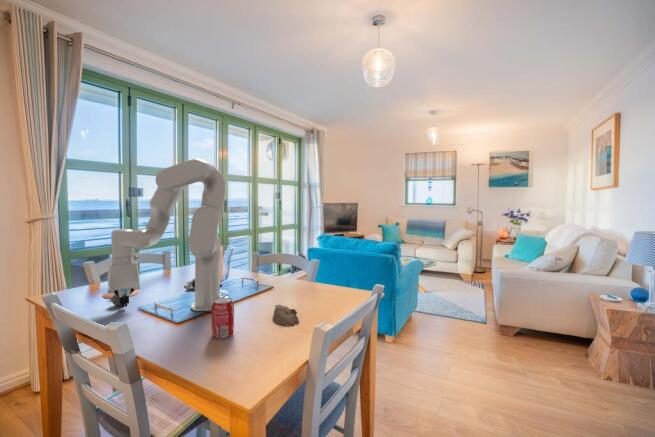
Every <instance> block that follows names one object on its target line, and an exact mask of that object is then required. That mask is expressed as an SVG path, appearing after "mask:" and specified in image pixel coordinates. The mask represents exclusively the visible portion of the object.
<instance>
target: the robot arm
mask: <svg viewBox="0 0 655 437" xmlns="http://www.w3.org/2000/svg"><path fill="white" fill-rule="evenodd" d="M198 182H199V183H202V184H203V191H202V195H201V203H200V206H199V207H198V208H197V209H195V211H194V212H193V214H192V217H191V225H190V231H189V240H188V249H189V250H188V251H189V252H190V253H191V255H192V256H193V257H194V278H195V291H194V302H193V303H191V304H190V309H191V310H192V311H195V312H198V311H207V312H212V305H213V303H214V300H215V299H217V298H221V297H224V296H222V293H220V292H221V291H220V290H221V288H220V287H221V286H220V282H221V281H220V278H221V277H220V276H221V274H220V272H221V270H220V269H221V264H220V263H221V245H222V244H221V243H222V242H221V238H220V236H219V235H218V227H219V226H220V224H221V223H222V221H223V215H224V214H223V213H224V212H223V211H224V204H225V194H226V181H225V177H224V176H223V173H222V172H221V171H220V169H218V168H217V167H216V166H215V165H213V164H212V163H210V162H209V161H208V162H207V160H204V159H200V158H193V159H189V160H186V161H183V162H180V163H177V164H174V165H171V166H167V167H165V168H163V169H161V170H159V171H158V172H157V173H156V175H155V185H156V186H157V187H156V190H155V192H154V193H153V195H152V197H151V198H150V201H149V207H150V210H151V214H150V216H149V217H150V218H149V220H148V222H147V224H146V225H145V227H144V228H141V229H136V230H133V229H131V228H130V229H129V228H119V229H115V230H112V231H111V235H110V236H111V237H110V238H111V263H110V264H109V265H108V266H109V267H108V272H107V274H108V276H107V278H108V279H107V286H108V289H107V292H108V293H110V294H116V295H118V296H119V297H120V305H121V304H122V305H121V306H122V308H124V307H128V304H130V297H131V296H130V294H131V293H132V292H133V291H136V290H140V289H141V286H140V273H139V265H138V263H137V261H138V260H140V256H139V255H136V254H135V250H138V249H139V250H142V249H147V248H149V247H152V246H155V245H156V244H158V243H159V242H160V240H161V239H162V237H163V235H164V234H165V232H166V231H167V230H166V229H167V227H168V225H169V223H170V219H171V216H172V212H173V210H174V208H175V207H176V204H177V202H178V200H179V198H180V197H181V195H182V193H183V191H184V189H185V187H187V186H189V185H192V184H196V183H198ZM122 289H126V293H125V295H123V294H122ZM129 296H130V297H129ZM124 302H125V304H124Z"/></svg>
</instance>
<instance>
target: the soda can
mask: <svg viewBox="0 0 655 437" xmlns="http://www.w3.org/2000/svg"><path fill="white" fill-rule="evenodd" d="M234 330H235V304H234V302H233V298H232V297H229V296H223V297H221V298H217V299H215V300H214V303H213V305H212V311H211V334H212V336H213V337H214V338H216V339H220V340H222V339H227V338H229V337H231V335H233V333H234Z"/></svg>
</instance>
